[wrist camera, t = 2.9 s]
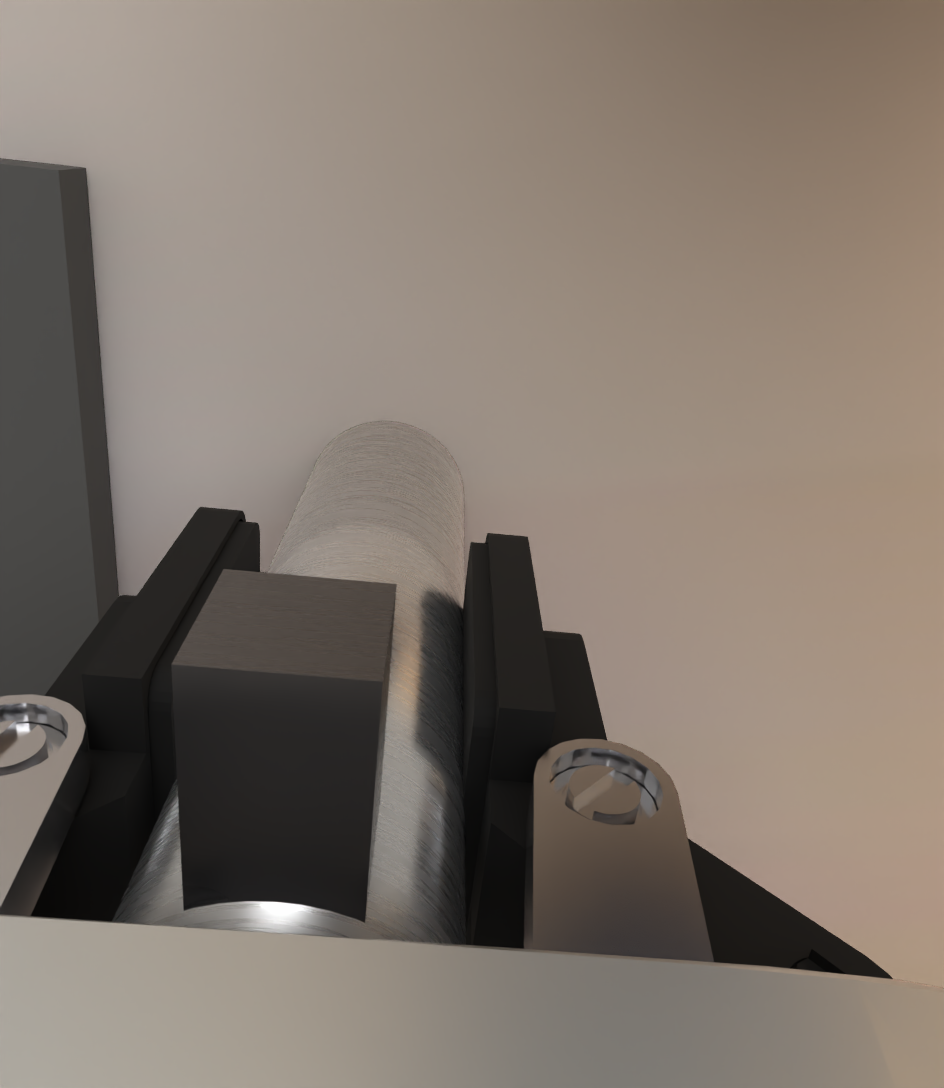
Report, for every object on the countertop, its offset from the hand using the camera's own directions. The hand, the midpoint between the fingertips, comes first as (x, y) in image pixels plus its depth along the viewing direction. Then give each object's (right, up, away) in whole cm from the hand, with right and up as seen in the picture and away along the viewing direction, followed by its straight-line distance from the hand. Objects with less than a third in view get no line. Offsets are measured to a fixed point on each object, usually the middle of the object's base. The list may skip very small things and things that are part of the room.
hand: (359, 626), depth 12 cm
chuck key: (0, +2, +4) cm, 5 cm away
